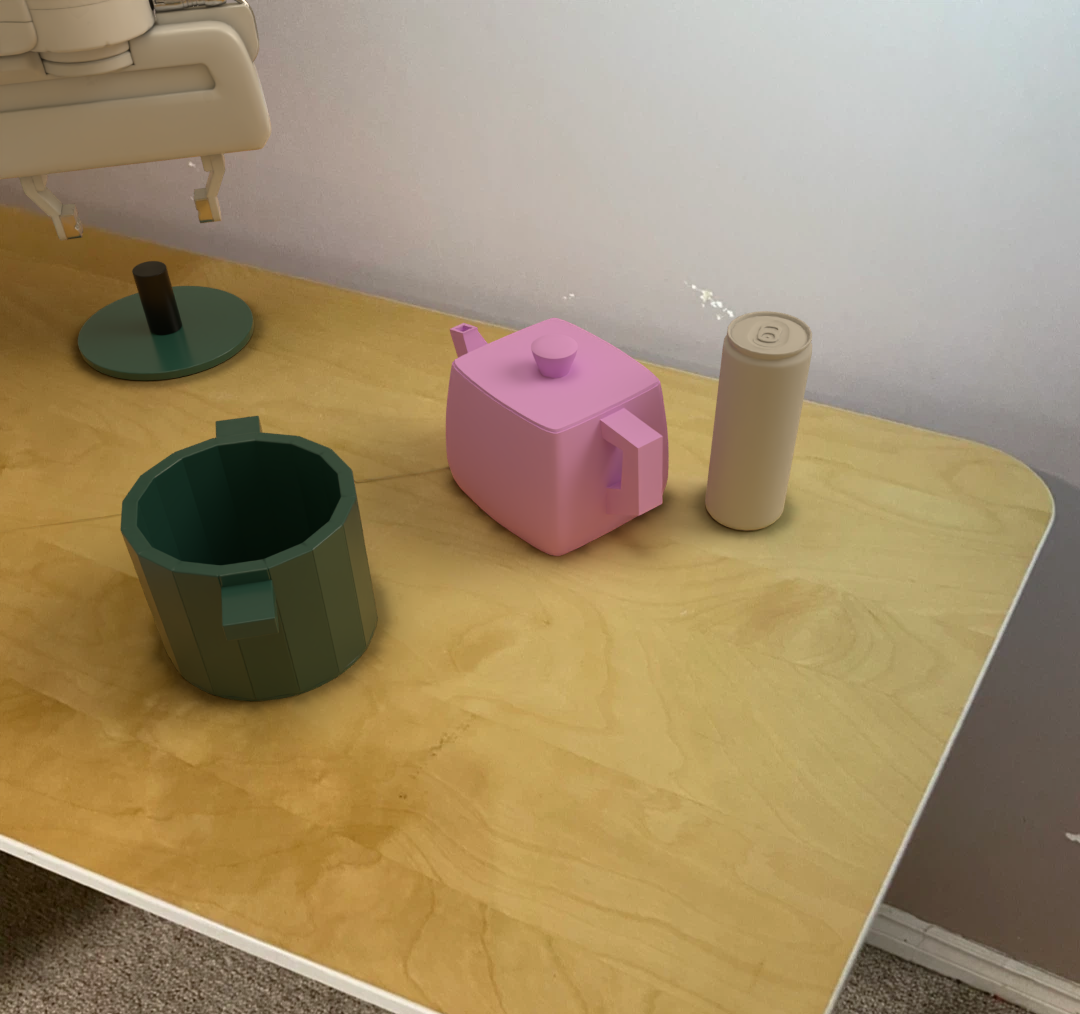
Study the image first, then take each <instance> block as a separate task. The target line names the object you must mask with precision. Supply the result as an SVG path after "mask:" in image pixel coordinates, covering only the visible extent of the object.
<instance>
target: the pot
mask: <svg viewBox="0 0 1080 1014" xmlns="http://www.w3.org/2000/svg"><path fill="white" fill-rule="evenodd" d="M214 425H215V437H212V438H209V439H206V440H203V441H201V442H198V443H195V444H193V445H190V446H187V447H184V448H182V449H179V450H176V451H173V452H172V453H170V454H169V455H167V456H166V457H164V458H163V459H162V460H160V461H159V462H158V463H156V464H154V466H152V467H150V468H148V470H146V471H145V472H143V473H142V474H140V475H139V477H138V478H137V480H135V482H134V484H133V485H132V487H131V488H130V490H129V491H128V493H126V495H125V496H124V498H123V499H122V502H121V512H120V513H121V514H120V527H119V528H120V529H119V530H120V533H121V536H122V538H123V541H124V543H125V546H126V548H127V552H128V554H129V558H130V559H131V562H132V564H133V568H134V571H135V572H136V575H137V578H138V581H139V583H140V586H141V589H142V591H143V595H144V597H145V599H146V602H147V604H148V607H149V610H150V613H151V615H152V618H153V620H154V624H155V626H156V629H157V631H158V634H159V636H160V639H161V642H162V644H163V648H164V650H165V652H166V654H167V656H168V657H169V659H170V661H171V662H172V664H173V666H174V668H175V669H176V671H177V672H178V674H180V675H181V677H182V678H184V680H186V681H187V682H188V684H191V685H192V686H194V687H195V688H197V689H198V690H201V691H203V692H205V693H207V694H209V695H212V696H216V697H218V698H223V699H228V700H234V701H242V702H266V701H275V700H282V699H287V698H292V697H295V696H299V695H302V694H304V693H308V692H310V691H313V690H315V689H318V688H321V687H323V686H324V685H326V684H328V683H330V682H331V681H333V680H335V679H337V678H339V676H341V675H342V674H344V673H345V672H346V671H348V670H349V668H351V667H352V666H353V665H354V664H356V662H357V661H359V659H360V658H361V657H362V656H363V655H364V653H365V652H366V650H367V649H368V648H369V647H370V644H371V642H372V639H373V638H374V635H375V632H376V628H377V622H378V618H379V617H378V611H377V605H376V599H375V594H374V593H375V592H374V588H373V582H372V577H371V576H372V575H371V570H370V564H369V558H368V551H367V548H366V547H367V546H366V541H365V535H364V530H363V524H362V518H361V517H362V516H361V512H360V507H359V500H358V494H357V489H356V483H355V477H354V472H353V470H352V468H351V467H350V466H349V465H348V464H347V463H346V462H345V461H344V460H343V459H342V457H340V455H338V454H337V453H336V452H335V451H334V450H333V449H332V448H331V447H328V446H326V445H323V444H321V443H318V442H316V441H313V440H311V439H307V438H305V437H302V436H300V435H293V434H283V433H274V432H263V427H262V424H261V419H260V416H259V415H252V416H245V417H237V418H230V419H221V420H216V421H215V424H214Z"/></svg>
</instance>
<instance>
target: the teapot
mask: <svg viewBox="0 0 1080 1014" xmlns="http://www.w3.org/2000/svg"><path fill="white" fill-rule="evenodd" d="M449 333H450V337H451V340H452V343H453V346H454V350H455V353H456V356H457V358H455V359H454V360H453V361H452V362H451V367H450V372H449V381H448V387H447V388H448V389H447V397H446V407H445V450H446V451H445V452H446V460H447V464H448V467H449V470H450V472H451V473H450V474H451V475H452V477H453V480H454V482H455V483H456V484H457V486H458V487H459V488H460V490H462V491H463V493H464V494H465V495H466V496H467V497H468V498H469V499H470V500H472V501H473V502H474V503H475V504H476V505H477V506H478V507H479V508H480V509H481V510H482V511H483V512H484V513H486V515H488V516H489V517H490V518H491V519H492V520H494V521H495V522H496V523H498V524H499V525H500V526H502V528H505V529H506V530H507V531H509V532H511V533H512V534H513V535H515V536H517V538H520V539H521V540H523V541H524V542H526V543H527V544H529V545H531V546H532V547H533V548H535V549H537V550H539V551H541V552H543V553H545V554H547V555H549V556H553V557H560V556H564V555H566V554H569V553H571V552H573V551H576V550H578V549H579V548H581V547H583V546H585V545H587V544H589V543H591V542H593V541H594V540H597V539H599V538H601V537H603V536H605V535H606V534H609V533H610V532H612V531H614V530H616V529H618V528H620V527H621V526H623V525H625V524H627V523H629V522H630V521H632V520H634V519H635V518H638V517H640V516H642V515H643V514H646V513H648V512H649V511H651V510H653V509H655V508H657V507H659V506H661V505H663V495H664V493H665V489H666V487H667V484H668V479H669V468H670V466H669V465H670V464H669V463H670V462H669V461H670V459H669V457H670V456H669V455H670V454H669V453H670V451H669V449H670V448H669V447H670V446H669V431H668V423H667V414H666V408H665V401H664V394H663V388H662V384H661V380H660V379H659V377H657V375H655V374H654V373H653V372H652V371H651V370H650V369H649V368H647V367H646V366H645V365H643V364H642V363H641V362H639V361H638V360H636V359H635V358H633V357H632V356H630V355H629V354H627V353H626V352H625V351H623V350H621V349H620V348H618V347H617V346H615V345H613V344H612V343H609V342H608V341H607V340H604V339H603V338H601V337H599V336H598V335H595V334H594V333H592V332H590V331H588V330H586V329H584V328H582V327H580V326H579V325H576V324H574V323H571V322H569V321H567V320H564V319H562V318H558V317H551V318H548V319H545V320H542V321H539V322H537V323H534V324H531V325H529V326H527V327H524V328H522V329H519V330H517V331H514V332H512V333H509V334H507V335H505V336H503V337H500V338H498V339H496V340H493V341H491V342H487V341H486V339H485V338H484V336H483V335H482V334H481V333H480V332H479V327H478V326H475V325H472V324H469V323H465V322H462V323H460V324H458V325H454V326H453V327H451V328H449Z"/></svg>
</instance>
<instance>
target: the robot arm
mask: <svg viewBox="0 0 1080 1014" xmlns="http://www.w3.org/2000/svg"><path fill="white" fill-rule="evenodd" d="M233 1H234V2H227V0H0V181H1V180H7V179H17V178H18V180H19V182H20V185H21V187H22V190H23V194H24V195H25V196H27V197H28V198H29V199H30V201H32V202H33V203H34V205H36V206H37V208H39V209H40V210H41V211H42V212H43V213H45V214H46V215H47V216H48V217H49V218H51V220H52V223H53V226H54V229H55V232H56V234H57V237H58V240H59V241H68V240H75V239H82V238H83V234H84V227H83V223H82V220H81V218H79V211H78V208H77V205H76V203H65V204H64V203H62V202H61V200H60V199H59V198H58V197H57V196H56V195H55V194H54V193H53V192H52V191H51V190H50V189H49V188H48V187H47V183H48V177H49V175H52V174H60V173H61V174H62V173H69V172H70V173H71V172H78V171H86V170H94V169H104V168H112V167H113V168H114V167H120V166H130V165H139V164H146V163H154V162H155V163H156V162H164V161H173V160H181V159H190V158H199V157H200V160H201V163H202V168H203V171H204V172H206V173H208V177H207V180H206V184H205V187H201V188H194V189H193V201H194V206H195V210H196V211H197V217H198V221H199V224H207V223H216V222H222V211H221V206H220V201H219V198H218V195H219V191H220V189H221V185H222V182H223V179H224V177H225V172H226V157H225V154H233V153H241V152H242V153H243V152H251V151H258V150H262V149H264V147H265V146H266V144H267V142H268V141H269V139H270V137H271V135H272V123H271V118H270V113H269V108H268V104H267V100H266V97H265V92H264V88H263V85H262V82H261V79H260V75H259V72H258V69H257V67H256V64H255V61H256V59H257V57H258V55H259V51H260V45H261V43H260V42H261V41H260V35H259V31H258V30H259V29H258V27H257V25H258V24H257V21H256V20H257V19H256V15H255V13H254V10H253V8H252V7H251V5H250V3H249V2H248V1H247V0H233Z"/></svg>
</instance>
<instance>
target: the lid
mask: <svg viewBox="0 0 1080 1014" xmlns="http://www.w3.org/2000/svg"><path fill="white" fill-rule="evenodd" d="M131 274H132V276H133V280H134V284H135V287H136V289H137V292H136V293H132V294H130V295H127V296H124V297H122V298H119V299H117V300H114V301H113V302H111V303H109V304H106V305H105V306H103V307H102V308H100V309H99V310H97V311H96V312H94V313H93V314H92V315H91V316H90V317H89V318H88V319H87V320H86V321H85V322H84V324H83V325H82V326H81V328H80V330H79V332H78V336H77V347H78V349H79V353H80V355H81V357H82V359H83V360H84V362H85V363H86V364H87V365H88V366H89V367H91V368H92V369H94V370H95V371H97V372H99V373H101V374H104V375H105V376H110V377H113V378H117V379H122V380H128V381H129V380H130V381H143V382H144V381H146V382H147V381H163V380H171V379H177V378H183V377H187V376H191V375H194V374H197V373H200V372H204V371H207V370H209V369H211V368H214V367H216V366H218V365H221V364H222V363H225V362H226V361H227V360H229V359H232V357H234V356H235V355H236V354H238V353H239V352H240V351H242V349H244V348H245V346H246V345H247V344H248V343H249V342H250V340H251V338H252V336H253V334H254V330H255V320H254V315H253V312H252V310H251V308H250V306H249V305H248V304H247V303H246V301H245V300H243V299H242V298H240V297H239V296H237V295H236V294H234V293H231V292H229V291H226V290H223V289H219V288H215V287H209V286H201V285H174V286H173V285H172V283H171V278H170V275H169V271H168V267H167V265H166V264H165V263H164V262H162V261H158V260H149V261H144V262H141V263H138V264H136V265H135V266H134V267H133V268H132V270H131Z"/></svg>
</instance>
